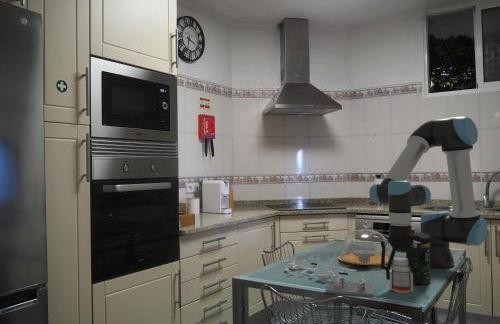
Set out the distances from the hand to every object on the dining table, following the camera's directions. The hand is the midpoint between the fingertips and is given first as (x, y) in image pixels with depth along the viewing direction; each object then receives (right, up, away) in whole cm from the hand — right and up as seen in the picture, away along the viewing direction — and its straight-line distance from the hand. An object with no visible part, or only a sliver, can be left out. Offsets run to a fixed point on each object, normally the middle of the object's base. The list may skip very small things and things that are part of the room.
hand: (401, 289), depth 142 cm
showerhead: (-3, -1, +37) cm, 37 cm away
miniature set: (-27, -1, +22) cm, 35 cm away
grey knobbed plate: (-17, -1, +2) cm, 17 cm away
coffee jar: (+11, -1, +11) cm, 15 cm away
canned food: (+31, -2, +75) cm, 81 cm away
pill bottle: (0, -1, 0) cm, 1 cm away
